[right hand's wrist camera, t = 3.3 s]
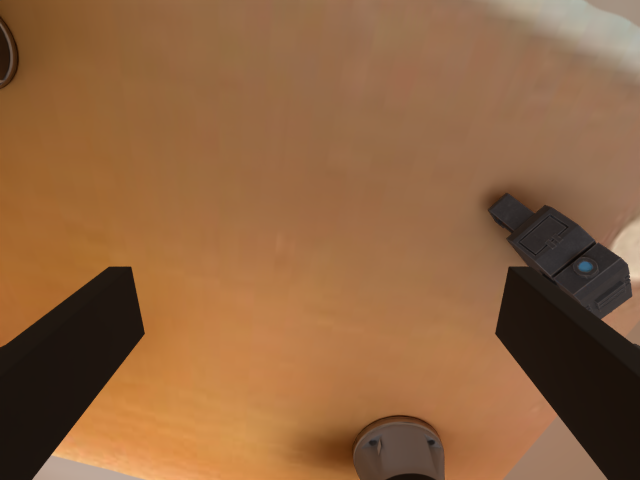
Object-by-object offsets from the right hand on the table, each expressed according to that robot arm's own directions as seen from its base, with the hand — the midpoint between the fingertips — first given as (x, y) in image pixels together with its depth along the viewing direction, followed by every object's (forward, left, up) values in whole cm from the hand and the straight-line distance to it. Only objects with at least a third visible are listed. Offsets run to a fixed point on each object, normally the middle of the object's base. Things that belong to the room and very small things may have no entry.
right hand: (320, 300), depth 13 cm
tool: (-11, -29, -34) cm, 46 cm away
